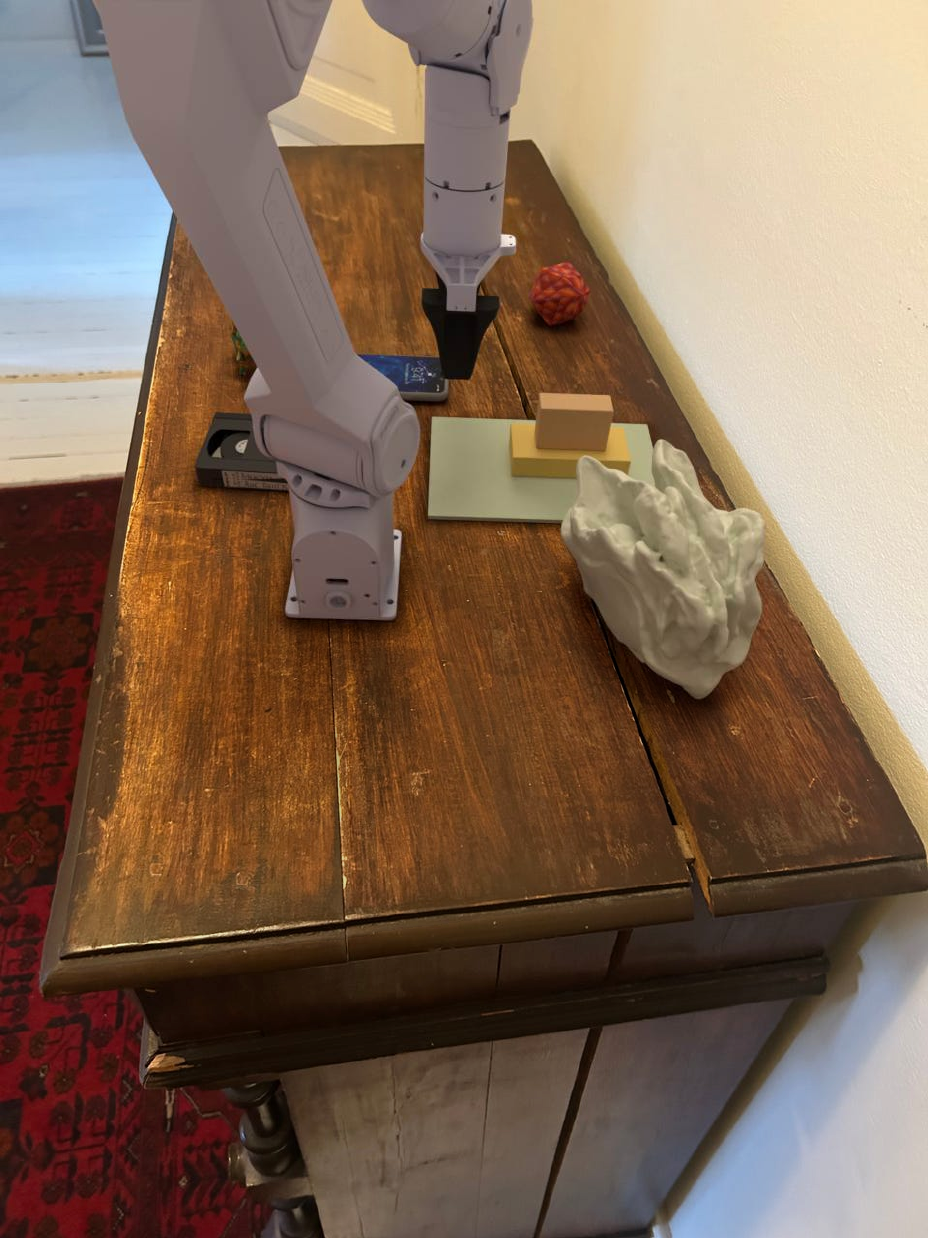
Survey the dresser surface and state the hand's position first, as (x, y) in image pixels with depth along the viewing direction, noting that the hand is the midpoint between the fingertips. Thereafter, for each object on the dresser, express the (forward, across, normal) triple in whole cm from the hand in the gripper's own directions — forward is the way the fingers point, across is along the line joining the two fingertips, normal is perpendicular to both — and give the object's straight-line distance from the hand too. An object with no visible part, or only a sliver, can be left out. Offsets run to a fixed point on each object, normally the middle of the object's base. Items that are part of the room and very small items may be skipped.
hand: (457, 351), depth 71 cm
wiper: (+9, -2, -10) cm, 14 cm away
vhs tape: (+10, -3, +14) cm, 17 cm away
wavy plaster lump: (+10, -20, -14) cm, 27 cm away
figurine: (+10, +14, +20) cm, 26 cm away
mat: (+9, -3, -8) cm, 13 cm away
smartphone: (+9, +10, +8) cm, 16 cm away
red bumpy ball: (+10, +24, -11) cm, 28 cm away
